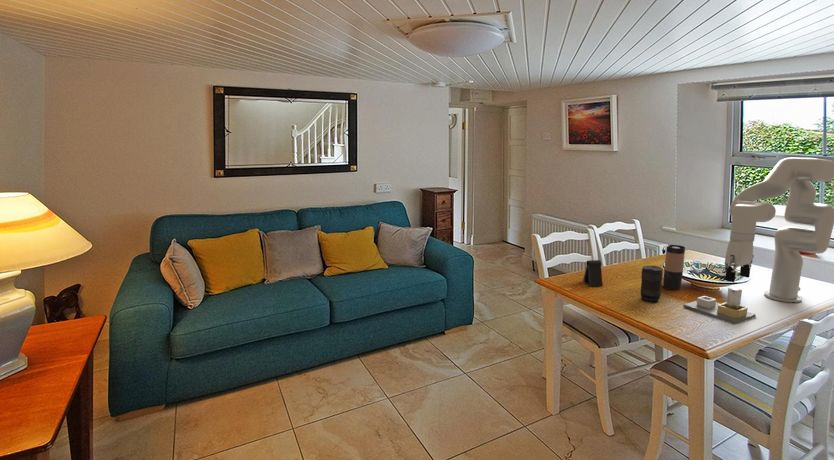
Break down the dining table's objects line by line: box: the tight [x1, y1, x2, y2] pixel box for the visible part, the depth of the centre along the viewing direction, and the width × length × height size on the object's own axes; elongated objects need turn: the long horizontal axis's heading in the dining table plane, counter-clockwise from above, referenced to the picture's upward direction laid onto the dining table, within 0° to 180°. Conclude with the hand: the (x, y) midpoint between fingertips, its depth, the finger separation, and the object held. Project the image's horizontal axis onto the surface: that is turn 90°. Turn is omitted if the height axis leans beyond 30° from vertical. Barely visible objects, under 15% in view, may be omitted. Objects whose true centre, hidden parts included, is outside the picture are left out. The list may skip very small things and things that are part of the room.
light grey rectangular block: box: [725, 287, 743, 310], centre depth 173 cm, size 4×4×10 cm
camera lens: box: [640, 265, 664, 304], centre depth 191 cm, size 8×8×15 cm
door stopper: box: [582, 259, 604, 288], centre depth 214 cm, size 9×6×12 cm, turn 3°
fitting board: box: [683, 295, 757, 325], centre depth 178 cm, size 14×20×4 cm
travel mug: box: [662, 244, 686, 291], centre depth 206 cm, size 8×8×20 cm
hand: (737, 278), depth 171 cm, fingers open, 9 cm apart
